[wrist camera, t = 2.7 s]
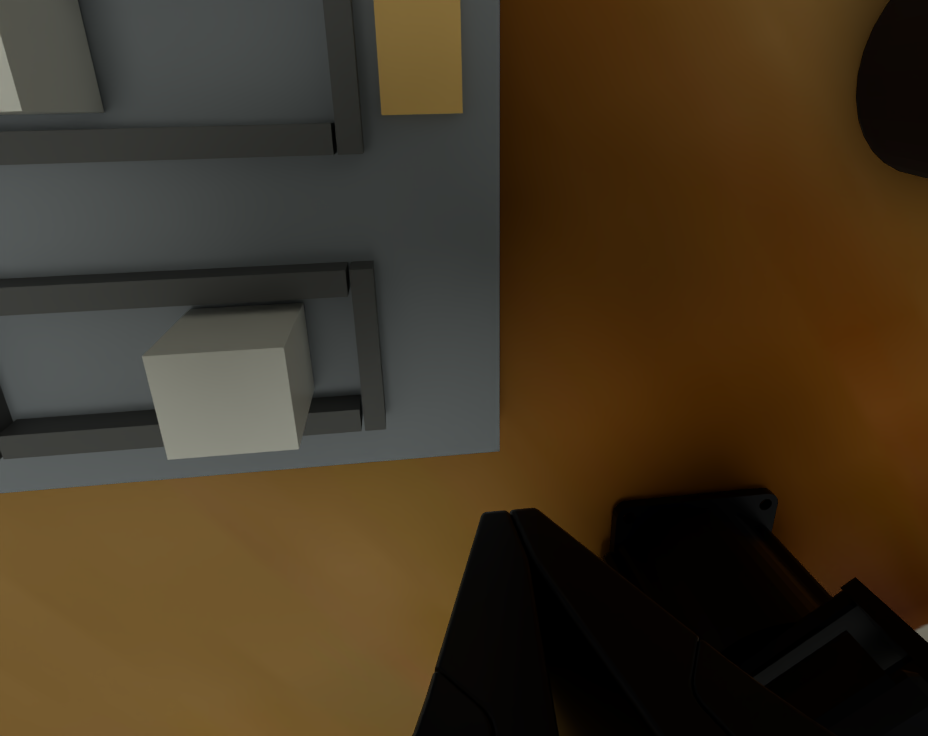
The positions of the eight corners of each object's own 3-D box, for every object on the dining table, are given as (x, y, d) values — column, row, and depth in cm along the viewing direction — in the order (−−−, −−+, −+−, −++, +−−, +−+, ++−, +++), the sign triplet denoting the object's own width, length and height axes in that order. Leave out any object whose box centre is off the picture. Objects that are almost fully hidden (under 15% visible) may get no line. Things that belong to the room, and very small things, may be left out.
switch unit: (482, -587, 12) (511, -794, 9) (489, 422, 21) (505, 467, 18) (-562, -691, 10) (-911, -989, 7) (-66, 466, 19) (-142, 524, 16)
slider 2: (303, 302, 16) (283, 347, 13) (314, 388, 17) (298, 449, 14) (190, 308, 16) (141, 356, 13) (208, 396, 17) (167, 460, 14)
